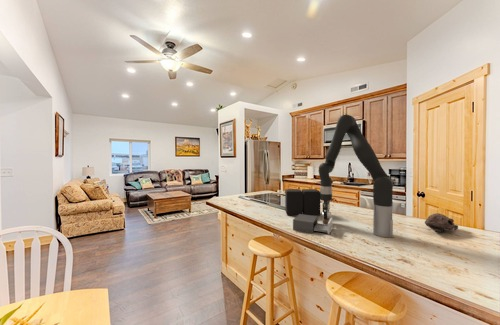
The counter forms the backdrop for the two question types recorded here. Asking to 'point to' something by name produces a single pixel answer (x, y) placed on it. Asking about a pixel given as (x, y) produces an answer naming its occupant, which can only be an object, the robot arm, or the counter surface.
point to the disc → (327, 214)
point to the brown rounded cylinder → (325, 221)
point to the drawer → (324, 227)
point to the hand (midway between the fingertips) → (326, 217)
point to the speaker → (302, 202)
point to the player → (305, 223)
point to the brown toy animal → (440, 222)
